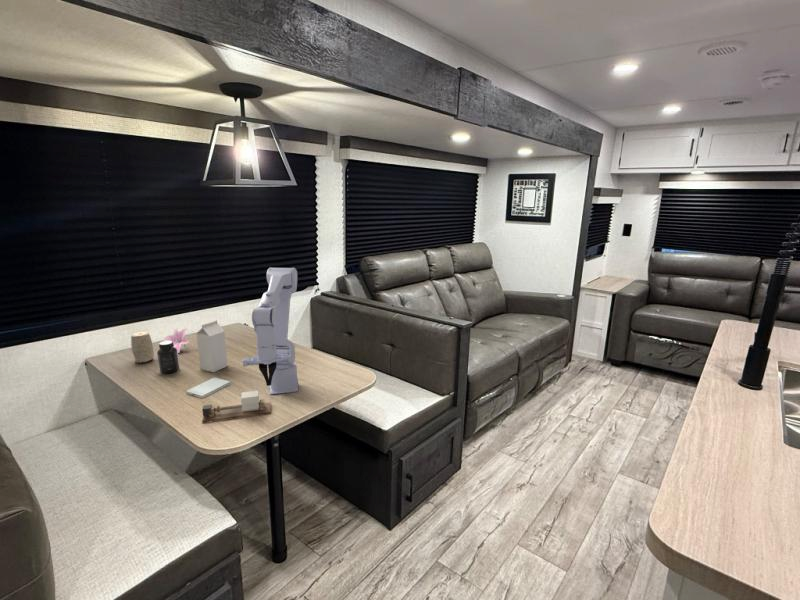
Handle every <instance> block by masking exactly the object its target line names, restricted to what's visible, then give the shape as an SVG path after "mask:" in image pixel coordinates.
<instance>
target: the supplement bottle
mask: <svg viewBox="0 0 800 600" xmlns="http://www.w3.org/2000/svg"><path fill="white" fill-rule="evenodd" d="M158 348H159V349H158V350H157V352H156V354H157V361H158V368H159V372H160V374H162V375H173V374H175V373H178V371H180V362H179V354H178V352H177V349H176V348H175V347H174V344H173V341H170V340H168V341H164V340H162V341H161V342H159V343H158Z"/></svg>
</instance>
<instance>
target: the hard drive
mask: <svg viewBox="0 0 800 600" xmlns="http://www.w3.org/2000/svg"><path fill="white" fill-rule="evenodd" d="M227 385H228V386H230V385H231V382H230V380H226V379H222V378H219V377H218V378H217V377H212V378H210V379H208V380H206V381H203V382H202V383H200V384H198V385H195V386H193V387H191V388H189V389H188V390H186V391H185V394H186V395H189V396H192V395H193V396H192V397H196V398H200V399H204V398H206V397H208V396H209V395H212V394H214V393H216V392H218V391H220V390H222V389H223V387H224V388H226V387H228V386H227ZM225 386H226V387H225ZM219 389H220V390H219ZM217 390H218V391H217Z"/></svg>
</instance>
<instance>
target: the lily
mask: <svg viewBox="0 0 800 600" xmlns="http://www.w3.org/2000/svg"><path fill="white" fill-rule="evenodd" d="M187 330H188V327H184V328H182V329H181V330H179V329H177V327H175V328H174V330H173V334H171V335H167V336H165V337H163V341H168V340H170V341H173V344H174V347H175V348H176V349H177V352H178V353H179V354H180V351H181V347H182V345H183V346H184V347H185V346H186V345H185V344H188V343H190V341H189V340H188V339H187V338H185V335H186V332H187Z"/></svg>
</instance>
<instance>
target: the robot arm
mask: <svg viewBox="0 0 800 600" xmlns="http://www.w3.org/2000/svg"><path fill="white" fill-rule="evenodd" d="M266 282H267V284H268V289H267V291H265V292H263V294H262V296H261V299H260V300H259V301H260V302H259V304H258V306H257V307H256V308H254V309H253V310H252V313H251V323H252V326H253V331H254V332H255V337H256V338H255V341H256V350H257V351H256V353H257V354H256V355H255V356H251V357H246V358H242V367H244V368H245V367H248V366H257V365H258V369H259V372H260V373H261V374H262V376H263V378H264V381H265V383H266V386H268V387H269V395H277V394H278V395H279V394H285V393H286V394H287V393H296V392H298V391H299V389H298V388H299V386H298V384H299V378H298V368H297V364H296V363H295V361H296V349H295V348H296V346H295V344H294V343H293V342H292V341H291V340H290V339H288V337H289V335H288V334H289V323H290V311H291V309H290V308H291V298H292V295H293V294H295V293H296V292H297V289H298V288H297V287H298V270H297V269H296V268H295V267H269V268H268V269H267V271H266Z"/></svg>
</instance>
